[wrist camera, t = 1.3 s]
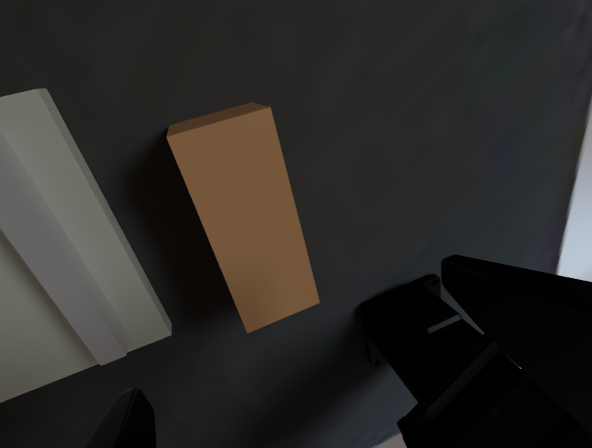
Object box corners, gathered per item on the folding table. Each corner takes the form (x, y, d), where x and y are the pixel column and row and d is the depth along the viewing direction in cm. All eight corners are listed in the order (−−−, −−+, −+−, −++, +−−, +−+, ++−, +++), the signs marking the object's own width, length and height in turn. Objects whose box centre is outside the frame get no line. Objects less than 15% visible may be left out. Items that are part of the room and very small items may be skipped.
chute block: (295, 265, 20) (319, 302, 17) (235, 289, 20) (247, 333, 16) (250, 102, 16) (270, 107, 12) (169, 125, 15) (166, 136, 12)
